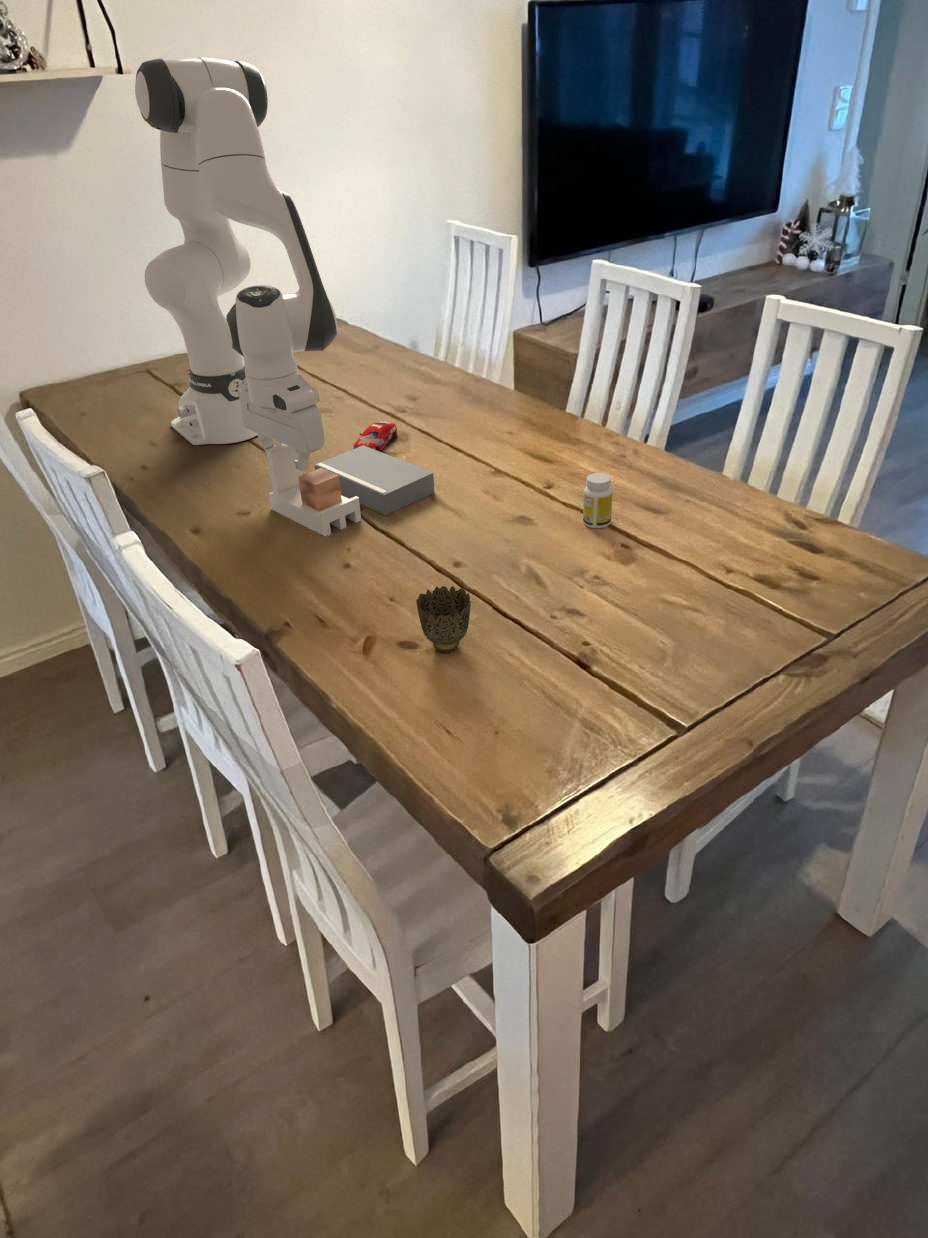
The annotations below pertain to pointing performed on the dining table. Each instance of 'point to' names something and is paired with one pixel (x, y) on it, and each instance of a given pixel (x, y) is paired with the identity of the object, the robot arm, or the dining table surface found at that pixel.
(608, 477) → the supplement bottle
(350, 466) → the block
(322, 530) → the white stand
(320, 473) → the reddish brown cube
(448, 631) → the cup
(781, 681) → the dining table surface
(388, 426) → the race car
